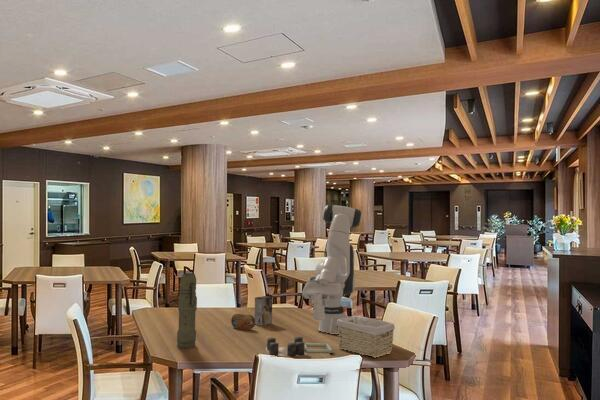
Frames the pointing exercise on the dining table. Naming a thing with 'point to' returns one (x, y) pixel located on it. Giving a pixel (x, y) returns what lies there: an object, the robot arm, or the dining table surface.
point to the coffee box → (263, 310)
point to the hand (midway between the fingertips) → (318, 304)
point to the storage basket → (365, 335)
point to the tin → (243, 321)
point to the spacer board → (286, 348)
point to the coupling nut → (319, 306)
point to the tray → (318, 345)
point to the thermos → (187, 311)
